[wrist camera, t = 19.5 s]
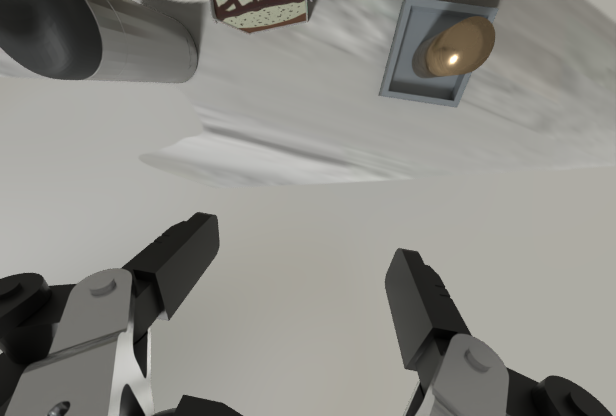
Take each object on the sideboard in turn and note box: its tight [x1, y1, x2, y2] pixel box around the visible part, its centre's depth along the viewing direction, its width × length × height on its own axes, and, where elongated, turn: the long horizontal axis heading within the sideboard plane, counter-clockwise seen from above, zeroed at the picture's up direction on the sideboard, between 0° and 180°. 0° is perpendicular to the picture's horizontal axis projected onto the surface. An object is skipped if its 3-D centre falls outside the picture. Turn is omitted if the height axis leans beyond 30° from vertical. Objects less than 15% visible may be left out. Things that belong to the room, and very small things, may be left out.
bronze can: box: [412, 16, 495, 79], centre depth 28 cm, size 5×5×11 cm
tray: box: [379, 0, 498, 107], centre depth 32 cm, size 12×12×2 cm
